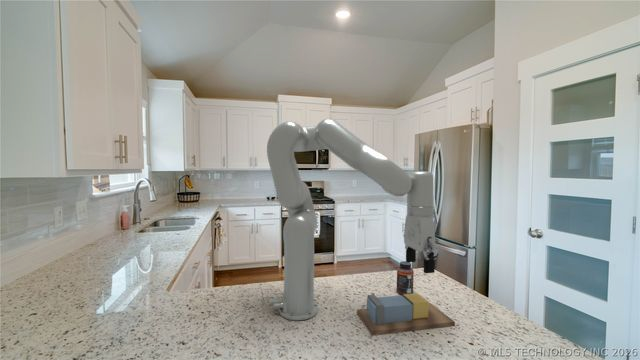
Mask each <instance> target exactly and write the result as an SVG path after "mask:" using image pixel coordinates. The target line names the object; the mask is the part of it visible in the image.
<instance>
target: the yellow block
mask: <svg viewBox="0 0 640 360" xmlns="http://www.w3.org/2000/svg"><path fill="white" fill-rule="evenodd" d="M403 296H404V297H405V298H406V299H408V300H409V301H410V302H411V303H412V304H413V319H418V318H427V317H428V306H429V303H430V302H429V301H428V300H427V299H426V298H424V297H423V296H422V295H421V294H419V293H418V292H415V293H414V292H413V294H403Z"/></svg>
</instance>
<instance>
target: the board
mask: <svg viewBox="0 0 640 360" xmlns="http://www.w3.org/2000/svg"><path fill="white" fill-rule="evenodd" d="M356 314H357V315H358V317H359V319H361V322H363V324H364V325H365V327H366V329H367V330H368V331H369V333H370V334H371V336H381V335H388V334H389V335H390V334H396V333H405V332H412V331H413V332H414V331H421V330H429V329H439V328H447V327H454V326H455V325H456V322H455V321H454V320H453V319H452V318H451V317H449V315H448V314H446V313H444V312H443V311H441V310H440V309H439V308H438V307H436V306H435V305H434V304H433V303H431V302H429V306H428V317H427V318H418V319H413V318H412V320H411V321H401V322H392V323H384V325H380V326H377V325H376V324H374V323H373V322H372V320H371V319H370V318H369V316H368V315H367V308H360V309H359V308H358V309H356Z"/></svg>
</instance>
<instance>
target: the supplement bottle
mask: <svg viewBox="0 0 640 360" xmlns="http://www.w3.org/2000/svg"><path fill="white" fill-rule="evenodd" d="M414 274H415V273H414V269H413V268H412V262H406V260H405V261H403V260H402V261H400V262H399V267H397V269H396V292H397V293H398V294H399V295H403V294H414Z"/></svg>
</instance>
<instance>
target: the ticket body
mask: <svg viewBox="0 0 640 360" xmlns="http://www.w3.org/2000/svg"><path fill="white" fill-rule="evenodd" d="M366 309H367V315H368V316H369V318H370V319H371V320H372V322H373V323H374V324H376V325H377V326H380V325H384V323H392V322H401V321H411V320H412V318H413V304H412V303H411V302H410V301H409V300H408V299H406V298H405V297H404V296H403V295H402V294H399V295H391V296H390V295H389V296H379V297H377V296H376V295H375V294H367V298H366Z"/></svg>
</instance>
